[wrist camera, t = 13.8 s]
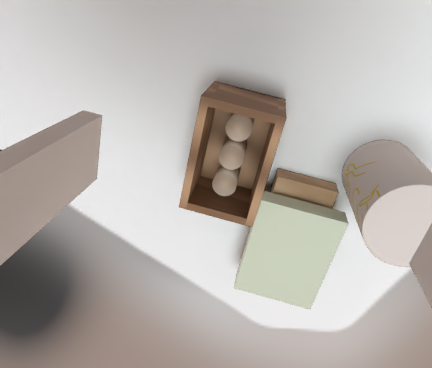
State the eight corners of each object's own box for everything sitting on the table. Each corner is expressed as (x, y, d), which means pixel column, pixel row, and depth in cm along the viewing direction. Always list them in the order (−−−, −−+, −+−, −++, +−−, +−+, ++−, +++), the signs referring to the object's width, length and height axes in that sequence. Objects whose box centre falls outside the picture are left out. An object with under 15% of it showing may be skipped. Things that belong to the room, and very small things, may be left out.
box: (256, 194, 46) (252, 227, 39) (194, 177, 47) (178, 207, 39) (285, 99, 41) (286, 117, 34) (214, 81, 41) (201, 95, 34)
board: (294, 286, 51) (294, 298, 49) (244, 272, 51) (242, 284, 49) (335, 183, 44) (338, 192, 42) (277, 168, 44) (277, 176, 42)
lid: (308, 291, 48) (310, 309, 45) (236, 271, 48) (233, 288, 45) (343, 208, 42) (348, 223, 40) (262, 187, 43) (261, 200, 40)
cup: (342, 142, 42) (363, 187, 31) (420, 137, 40) (471, 182, 30) (341, 206, 45) (360, 267, 34) (414, 204, 44) (458, 266, 33)
